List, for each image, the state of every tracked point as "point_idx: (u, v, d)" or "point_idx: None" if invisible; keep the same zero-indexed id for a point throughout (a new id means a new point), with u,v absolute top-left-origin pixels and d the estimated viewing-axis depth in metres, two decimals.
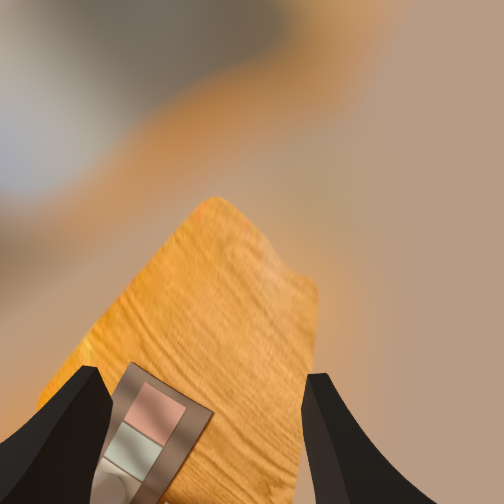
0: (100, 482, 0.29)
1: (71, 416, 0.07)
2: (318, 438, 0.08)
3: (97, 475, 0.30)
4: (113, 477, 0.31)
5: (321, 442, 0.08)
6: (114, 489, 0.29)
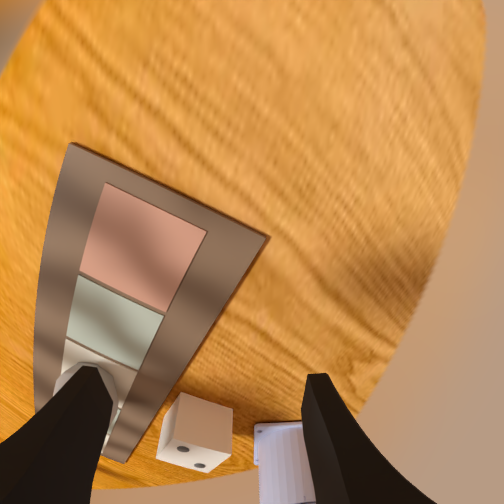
0: None
1: (71, 416, 0.07)
2: (318, 438, 0.08)
3: None
4: None
5: (321, 442, 0.08)
6: None
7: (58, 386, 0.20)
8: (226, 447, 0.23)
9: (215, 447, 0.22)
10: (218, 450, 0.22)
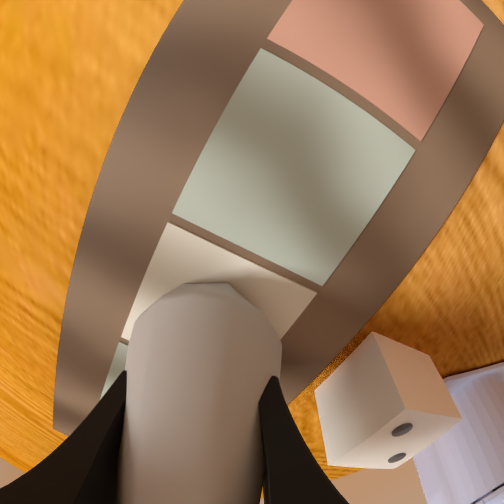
0: (210, 373, 0.08)
1: (118, 425, 0.07)
2: None
3: (175, 328, 0.09)
4: (241, 308, 0.10)
5: None
6: (266, 371, 0.09)
7: (152, 328, 0.09)
8: (454, 409, 0.12)
9: (446, 411, 0.11)
10: (451, 416, 0.11)
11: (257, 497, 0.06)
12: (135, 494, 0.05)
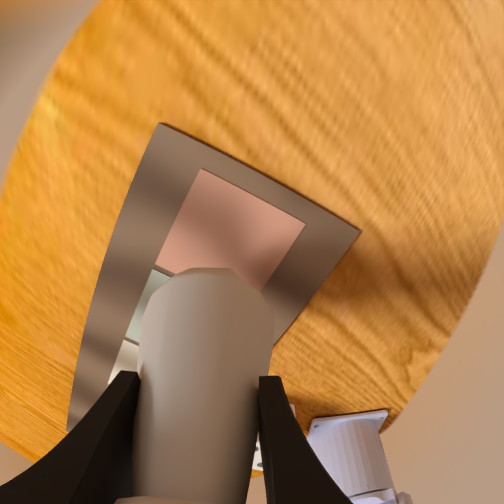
0: (218, 332, 0.10)
1: (115, 425, 0.07)
2: (264, 441, 0.08)
3: (188, 298, 0.11)
4: (242, 286, 0.12)
5: (265, 446, 0.07)
6: (262, 337, 0.12)
7: (169, 298, 0.11)
8: None
9: None
10: None
11: (254, 438, 0.08)
12: (154, 429, 0.07)
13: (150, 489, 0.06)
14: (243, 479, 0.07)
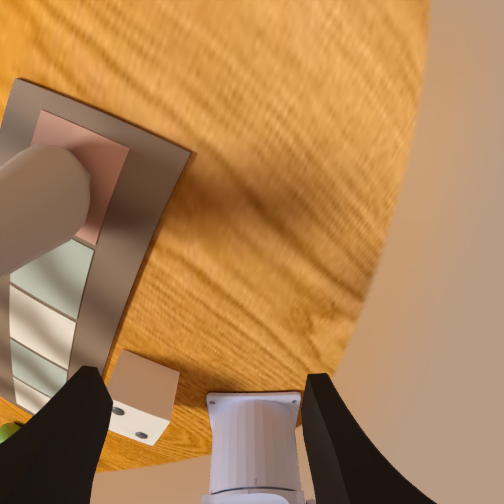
0: (16, 167, 0.11)
1: (71, 416, 0.07)
2: (318, 438, 0.08)
3: (17, 156, 0.12)
4: (57, 150, 0.13)
5: (321, 442, 0.08)
6: (55, 180, 0.12)
7: None
8: (165, 412, 0.20)
9: (152, 411, 0.20)
10: (155, 415, 0.20)
11: (1, 229, 0.09)
12: None
13: None
14: None
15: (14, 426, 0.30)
